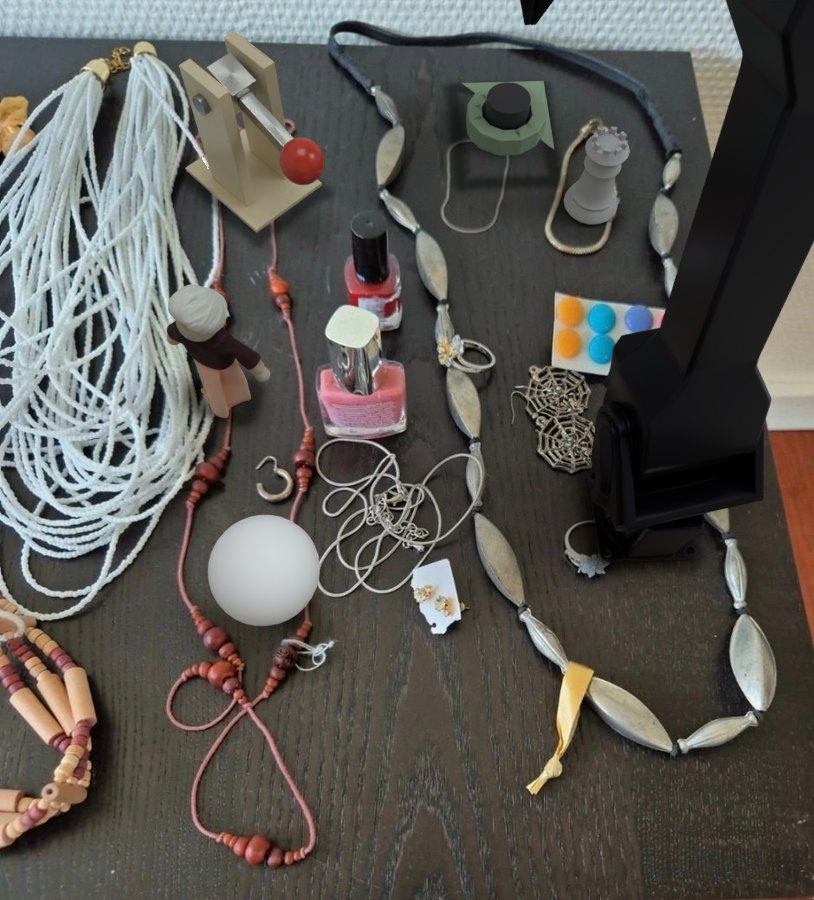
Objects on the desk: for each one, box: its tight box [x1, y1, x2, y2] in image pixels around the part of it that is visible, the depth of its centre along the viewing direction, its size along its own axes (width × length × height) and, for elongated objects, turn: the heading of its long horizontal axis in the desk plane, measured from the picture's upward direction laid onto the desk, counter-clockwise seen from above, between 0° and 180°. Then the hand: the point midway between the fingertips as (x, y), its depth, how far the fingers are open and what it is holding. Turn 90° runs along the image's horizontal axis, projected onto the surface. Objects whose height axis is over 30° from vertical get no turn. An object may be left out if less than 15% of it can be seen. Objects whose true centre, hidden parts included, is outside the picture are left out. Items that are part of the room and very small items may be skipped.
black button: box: [484, 81, 531, 130], centre depth 65 cm, size 4×4×2 cm
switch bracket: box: [178, 30, 323, 233], centre depth 60 cm, size 9×7×12 cm
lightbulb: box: [207, 514, 321, 627], centre depth 46 cm, size 6×6×11 cm
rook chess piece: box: [563, 125, 631, 226], centre depth 60 cm, size 4×4×8 cm
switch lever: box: [205, 52, 326, 185], centre depth 56 cm, size 10×3×3 cm, turn 45°
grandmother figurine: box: [166, 283, 271, 419], centre depth 51 cm, size 8×4×13 cm, turn 76°
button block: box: [461, 80, 555, 157], centre depth 67 cm, size 11×8×2 cm
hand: (529, 20), depth 55 cm, fingers closed
